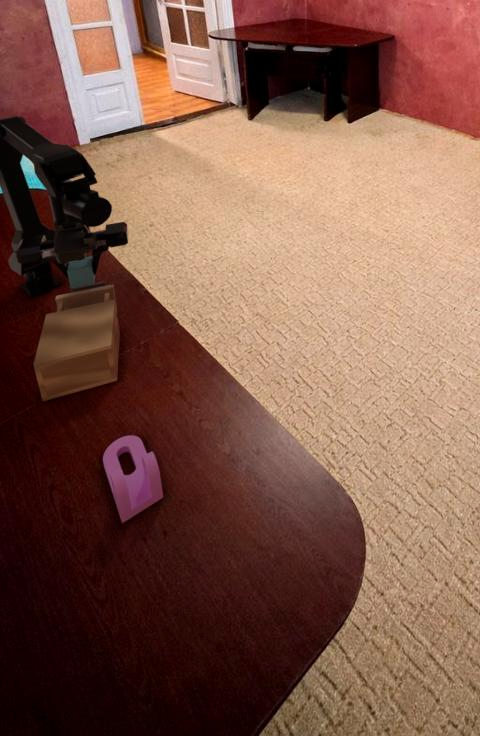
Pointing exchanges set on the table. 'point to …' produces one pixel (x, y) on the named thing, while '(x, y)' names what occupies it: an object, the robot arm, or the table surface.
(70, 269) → the block
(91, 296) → the drawer
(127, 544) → the table surface
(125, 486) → the bracket
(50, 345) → the cabinet
